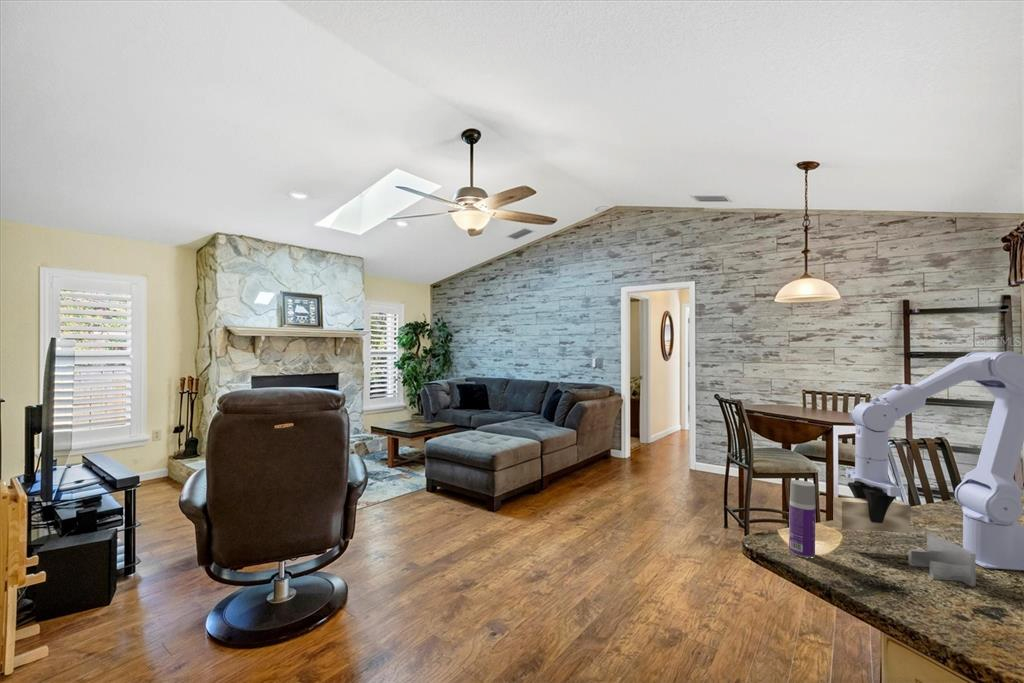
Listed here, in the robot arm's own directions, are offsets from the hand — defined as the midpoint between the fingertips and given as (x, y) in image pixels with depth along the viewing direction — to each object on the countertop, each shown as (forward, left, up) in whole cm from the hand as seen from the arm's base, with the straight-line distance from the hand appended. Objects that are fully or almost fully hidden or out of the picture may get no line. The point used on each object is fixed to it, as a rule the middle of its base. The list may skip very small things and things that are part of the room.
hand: (870, 519), depth 100 cm
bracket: (-5, +10, -6) cm, 13 cm away
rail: (0, 0, -2) cm, 2 cm away
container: (+17, +5, -7) cm, 19 cm away
